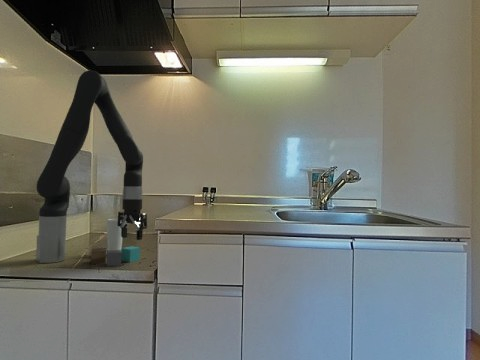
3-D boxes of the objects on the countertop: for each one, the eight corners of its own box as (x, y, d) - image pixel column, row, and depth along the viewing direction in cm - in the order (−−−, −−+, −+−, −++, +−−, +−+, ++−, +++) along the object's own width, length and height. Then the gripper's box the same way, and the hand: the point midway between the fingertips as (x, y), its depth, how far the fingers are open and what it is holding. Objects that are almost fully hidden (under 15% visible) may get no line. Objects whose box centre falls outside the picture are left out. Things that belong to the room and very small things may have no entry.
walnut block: (105, 263, 127) (105, 250, 127) (91, 264, 126) (91, 250, 126) (105, 260, 132) (106, 247, 132) (91, 261, 130) (92, 248, 130)
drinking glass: (104, 256, 138) (105, 220, 138) (107, 253, 145) (108, 218, 145) (122, 256, 140) (123, 220, 140) (123, 253, 146) (124, 218, 146)
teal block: (129, 262, 130) (130, 249, 130) (121, 260, 133) (121, 248, 133) (139, 260, 134) (140, 247, 134) (131, 258, 137) (131, 246, 137)
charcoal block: (120, 266, 124) (121, 252, 124) (106, 266, 123) (106, 253, 123) (120, 262, 129) (121, 249, 129) (106, 263, 127) (107, 250, 127)
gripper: (112, 197, 134) (111, 238, 134) (137, 198, 127) (136, 241, 127) (127, 197, 141) (126, 235, 140) (152, 198, 133) (151, 239, 133)
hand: (131, 238), depth 133 cm, fingers open, 8 cm apart
